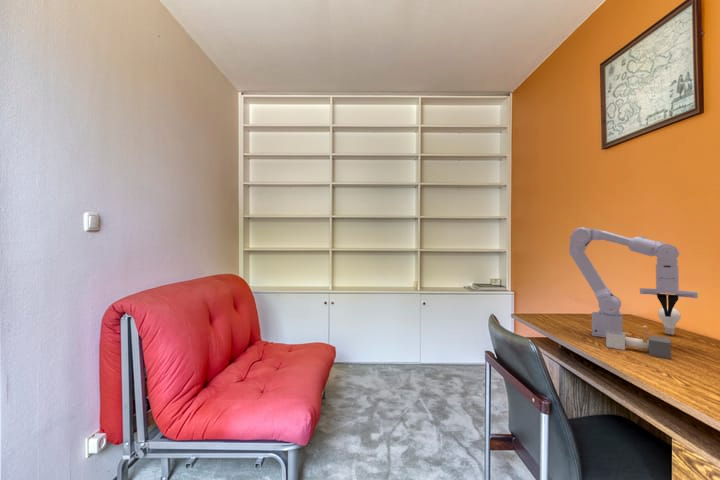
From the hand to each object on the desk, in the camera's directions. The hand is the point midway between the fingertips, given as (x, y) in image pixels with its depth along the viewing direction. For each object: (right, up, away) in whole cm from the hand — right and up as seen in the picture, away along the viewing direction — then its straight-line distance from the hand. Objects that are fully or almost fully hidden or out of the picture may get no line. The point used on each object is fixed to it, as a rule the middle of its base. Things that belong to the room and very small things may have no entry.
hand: (667, 316), depth 110 cm
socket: (-11, -10, -9) cm, 18 cm away
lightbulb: (+13, -11, +12) cm, 21 cm away
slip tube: (-15, -10, -5) cm, 18 cm away
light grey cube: (-19, -11, -1) cm, 22 cm away
